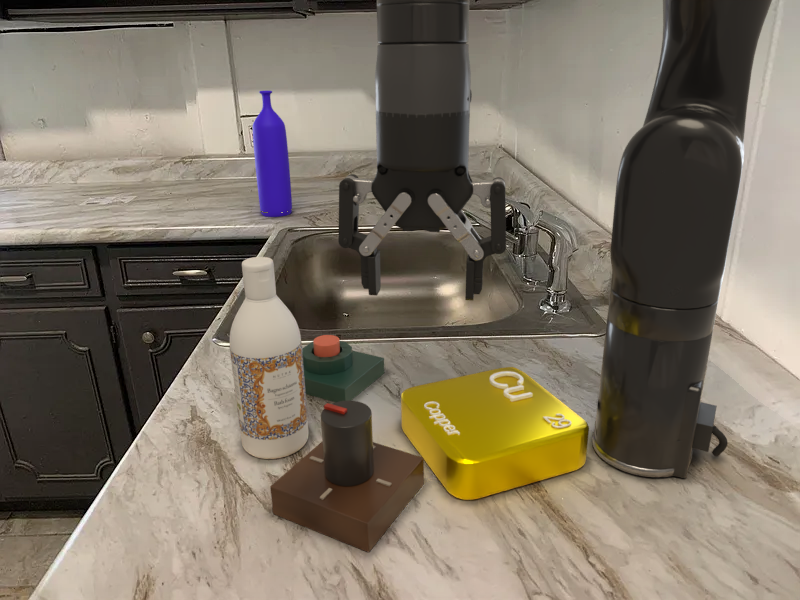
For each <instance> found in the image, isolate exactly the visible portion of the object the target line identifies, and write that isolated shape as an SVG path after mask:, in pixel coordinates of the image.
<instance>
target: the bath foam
mask: <svg viewBox="0 0 800 600" xmlns="http://www.w3.org/2000/svg"><path fill="white" fill-rule="evenodd" d="M241 271H242V280H243V288H244V295H245V297H244V299H243V302H242V304H241V305H240V307H239V309H238V311H237V312H236V314H235V316H234V319H233V321H232V323H231V327H230V332H229V354H230V361H231V363H230V364H231V370H232V377H233V384H234V385H233V387H234V394H235V401H236V409H237V417H238V425H239V431H240V439H241V445H242V447H243V450H244V451H245V452H246V453H247V454H249V455H250V456H253V457H255V458H259V459H262V460H263V459H265V460H275V459H281V458H285V457H288V456H291V455H294V454H295V453H297V452H299V451H300V450H301V449H302V448H303V447H305V445H306V444H307V442H308V439H309V435H310V433H309V419H308V406H307V405H308V404H307V394H306V392H305V379H304V367H303V355H302V348H303V345H302V336H301V331H300V328H299V325H298V322H297V320H296V318H295V317H294V315H293V313H292V312H291V310H290V309H289V308H288V307H287V306H286V304H285V303H284V302H283V301H282V300H281V299H280V297H279V296H278V295H277V287H276V276H275V275H276V274H275V265H274V260H273V259H272V258H270V257H269V256H268V257H267V256H253V257H249V258H246V259H244V260H243V261H242V262H241Z"/></svg>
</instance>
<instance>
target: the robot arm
mask: <svg viewBox="0 0 800 600" xmlns="http://www.w3.org/2000/svg"><path fill="white" fill-rule="evenodd" d="M772 1H773V0H662V39H661V40H662V41H661V49H660V56H659V61H658V67H657V70H656V71H657V72H656V76H655V79H654V84H653V88H652V92H651V96H650V101H649V104H648V108H647V112H646V115H645V118H644V121H643V125H642V127H641V128H640V129H638V131H636V132H635V134H633V136H632V137H631V138H630V139H629V141H628V143H627V144H626V146H625V148H624V150H623V152H622V154H621V158H620V161H619V165H618V171H617V177H616V186H615V196H614V205H613V216H612V217H613V218H612V227H611V228H612V230H611V241H610V264H611V279H610V280H611V281H610V290H609V299H608V309H607V316H606V326H605V335H604V343H603V352H602V361H601V370H600V371H601V372H600V379H599V388H598V395H597V397H596V399H597V403H596V405H595V406H596V414H595V416H596V417H595V420H594V421H595V422H594V428H593V432H592V441H591V442H592V447H593V449H594V451H595V453H596V454H597V455H598V456H599V458H601V459H602V460H603V461H604V462H605V463H607V464H608V465H610V466H612V467H614V468H616V469H618V470H620V471H623V472H625V473H628V474H632V475H635V476H640V477H646V478H668V477H677V478H681V479H686V478H687V477H688V473H689V467H690V465H691V462H692V458H693V449H694V450H698V451H703V452H706V453H708V452H709V451H710V445H711V439H712V436H714V437H715V438H716V439H717V440H718V444H717V445H716V446H715V447H714V448H713V449H712V451H711V454H712V455H713V456H715V457H720V455H721V454H722V453H723V452H724V451H725V450H726V449H727V446H728V438H727V437H726V435H725V433H723V431H721V430H720V429H719V427H717V426H716V425H714V424H715V418H716V413H717V405H716V404H711V403H707V402H702V398H703V394H704V393H703V392H704V388H705V381H706V375H707V370H708V361H709V355H710V350H711V345H712V339H713V333H714V327H715V322H716V316H717V311H718V305H719V299H720V297H721V296H720V295H721V290H722V285H723V280H724V275H725V271H726V266H727V265H726V264H727V258H728V251H729V246H730V239H731V234H732V229H733V225H734V219H735V213H736V208H737V202H738V197H739V191H740V186H741V181H742V180H741V179H742V173H743V167H744V162H745V132H746V121H747V120H746V119H747V110H748V101H749V95H750V86H751V79H752V73H753V72H752V71H753V66H754V61H755V55H756V51H757V47H758V44H759V43H758V42H759V39H760V37H761V33H762V30H763V26H764V24H765V22H766V18H767V15H768V13H769V10H770V7H771V5H772ZM470 3H471V2H470V0H376V35H377V36H376V42H377V44H378V45H377V49H376V50H377V51H376V61H375V73H374V92H375V93H374V97H375V101H374V102H375V135H376V139H375V140H376V173H375V176H374V178H364V177H363V178H362V177H358V175H357V174H354V173H351V174H348V175H347V176H346V177H345V178H343V179H342V180H341V181H340V182H339V184H338V245H339V246H340V247H341V248H343V249H351V250H353V251H356V253H358V254H359V256H360V275H361V280H360V281H361V282H360V283H361V286H362V288H363V289H364V290H368V296H378V295H379V293H380V291H381V287H382V285H381V284H382V283H381V282H382V281H381V279H382V278H381V250H380V249H378V246H379V245H380V244H381V243H382V241H383V240H384V239H385V238H386V236H387V235H388V233H389V232H390V231H391V229H392V228H393V227H394V226H396V227H398V228H399V229H401V230H402V232H414V231H418V230H422V231H426V232H429V233H440V231H442V230H445V229H447V231H449V233H450V234H451V235H452V237H453V238H454V239H455V241H457V242H458V243H459V244H460V245H461V246H462V248H463V249H464V251H465V252H466V253H467V256H466V265H465V267H466V268H465V294H464V295H465V301H472V302H473V301H474V299H475V295H480V294H481V292H482V290H483V285H484V284H483V283H484V262H485V259H486V258H487V257H489V256H493V255H495V254H496V255H501V254H504V253H505V252H506V249H507V214H506V213H507V209H506V208H507V206H506V205H507V204H506V203H507V202H506V180H505V179H504V178H503V177H500V176H496V177H494V178H493V179H492V180H475V181H474V180H472V177H471V174H470V171H469V157H470V156H469V152H470V121H471V120H470V118H471V116H470V115H471V103H472V96H473V95H472V93H473V92H472V89H471V85H472V84H471V83H472V79H471V77H472V73H471V72H472V71H471V61H470V53H469V52H470V51H469V48H470V47H469V46H470V45H469V44H468V43H469V35H470V33H469V32H470ZM368 193H371V194H372V196H373V197H374V199H375V200H376V201H377V203H378V204H379V206H380V207H381V208H382V210H383V211H384V213H383V214H382V216H381V217H380V218H379V220H378V221H377V222H376V224H375V225H373V226H374V227H373V228H372V229H371V230H370V231H369V233H368V234H365V233H362V232H360V231H359V219H360V217H359V216H360V215H359V212H360V205H361V204H362V203H364V201H365V200H366V199H367V195H368ZM474 195H475V196H477V197H478V198H479V200H480V203H481V205H482V206H483V207H484V208H486V209H489V208H490V236H486V237H483V238H482V237H481V236H480V235H479V233H478V232H477V230H475V228H474V226H473V225H472V222H471V221H470V220H469V219H470V218H468V217H467V215H466V213H465V212H464V211H463V208H464V207H465V206H466V205H467V203H468V202H469V201H470V199H471V198H472V197H473V196H474Z"/></svg>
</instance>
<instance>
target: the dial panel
mask: <svg viewBox="0 0 800 600" xmlns="http://www.w3.org/2000/svg"><path fill="white" fill-rule="evenodd" d="M373 463H374V472H373V474H372V476H371V477H370V478H369V479H368V480H367V481H365V482H364V483H361V484H359V485H355V486H339V485H336V484H333V483H331V482H330V481H329V480H328V479H327V478H326V476H325V470H324V456H323V442H322V441H320V443H318V444H317V445H316V446H315V447H313V448H312V450H311V451H310V452H308V453H307V454H306V455H305V456H304V457H302V458H301V459H299V461H298V462H297V463H295V464H294V465H293V466H292V467H291V468H290V469H289V470H288V471H286V472H285V473H284V474H283V475H281V477H280V478H278V479H277V480H276V481H275V482H274V483H272V484H271V485H270V487H269V488H270V497H271V505H272V514H273V515H275V516H277V517H279V518H282V519H284V520H287V521H290V522H292V523H294V524H298V525H299V526H302V527H304V528H307V529H309V530H312V531H314V532H317V533H319V534H322V535H325V536H326V537H328V538H329V537H330V538H331V539H334V540H337V541H339V542H341V543H344V544H347V545H349V546H352V547H354V548H356V549H359V550H361V551H364V552H366V553H370V552H371V550H372V549H373V548H374V547H375V545H376V544H377V543H378V542H379V541H380V539H381V538H382V537H383V536H384V534H385V533H386V532H387V530H388V529H389V528H390V527H391V525H392V524H393V523H395V522H394V521H395V520H396V519H397V518H398V517H399V515H400V514H401V513H402V512H403V511H404V509H405V508H406V507H407V505H408V504H409V503H410V502H411V501H412V499H413V498H414V497H415V495H416V494H417V493H418V492H419V490H421V488H422V487H423V486H424V484H425V467H424V466H425V460H424V458H423V457H422V456H421V455H417V454H414V453H410V452H406V451H403V450H400V449H397V448H393V447H390V446H387V445H383V444H380V443H378V442H375V441H373Z"/></svg>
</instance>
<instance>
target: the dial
mask: <svg viewBox="0 0 800 600" xmlns="http://www.w3.org/2000/svg"><path fill="white" fill-rule="evenodd" d="M372 414H373V413H372V409H371V407H370V406H368V405H367V404H366V403H364V402H361V401H358V400H351V401H340V402H332V403H329V402H328V403H327V402H326V403H325V404H324V405H323V409H322V411H321V413H320V425H321V426H320V428H321V442H323V456H324V470H325V476H326V478H327V479H328V480H329V481H330V482H331V483H333V484H336V485H339V486H355V485H359V484H361V483H364V482H365V481H367V480H368V479H369V478H370V477H371V476H372V474H373V472H374V463H373V442H374V440H373V439H374V438H373V415H372Z"/></svg>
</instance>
